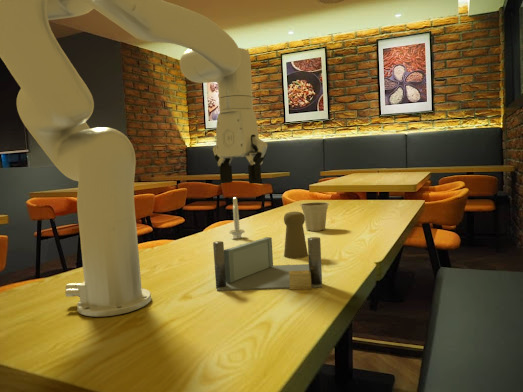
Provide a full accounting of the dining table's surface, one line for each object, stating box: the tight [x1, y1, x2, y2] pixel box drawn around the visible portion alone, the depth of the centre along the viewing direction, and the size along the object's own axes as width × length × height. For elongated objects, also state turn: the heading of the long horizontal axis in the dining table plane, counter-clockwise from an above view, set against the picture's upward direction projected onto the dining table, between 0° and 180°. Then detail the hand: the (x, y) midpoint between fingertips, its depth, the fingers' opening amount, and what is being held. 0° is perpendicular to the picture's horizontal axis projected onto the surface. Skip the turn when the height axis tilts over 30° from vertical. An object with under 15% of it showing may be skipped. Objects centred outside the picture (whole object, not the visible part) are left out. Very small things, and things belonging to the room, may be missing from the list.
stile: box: [289, 236, 323, 291], centre depth 81 cm, size 6×4×9 cm, turn 86°
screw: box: [229, 196, 245, 240], centre depth 132 cm, size 13×5×5 cm
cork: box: [283, 211, 308, 260], centre depth 105 cm, size 6×6×11 cm
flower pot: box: [300, 201, 330, 232], centre depth 140 cm, size 9×9×9 cm
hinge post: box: [212, 240, 226, 289], centre depth 83 cm, size 2×2×9 cm
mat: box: [216, 263, 323, 292], centre depth 88 cm, size 20×16×1 cm
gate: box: [224, 236, 274, 283], centre depth 90 cm, size 14×1×6 cm, turn 141°
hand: (240, 182), depth 96 cm, fingers open, 9 cm apart
